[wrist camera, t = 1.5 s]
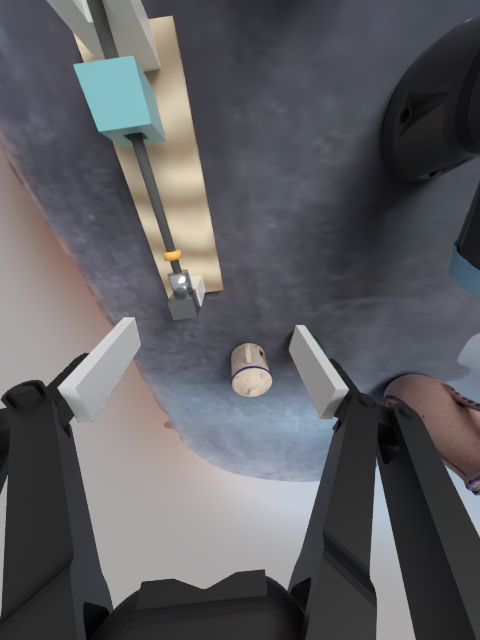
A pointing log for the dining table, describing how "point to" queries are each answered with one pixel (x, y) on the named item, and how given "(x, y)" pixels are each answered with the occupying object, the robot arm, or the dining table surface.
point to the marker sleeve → (121, 100)
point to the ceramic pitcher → (444, 422)
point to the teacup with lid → (250, 370)
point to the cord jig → (157, 146)
